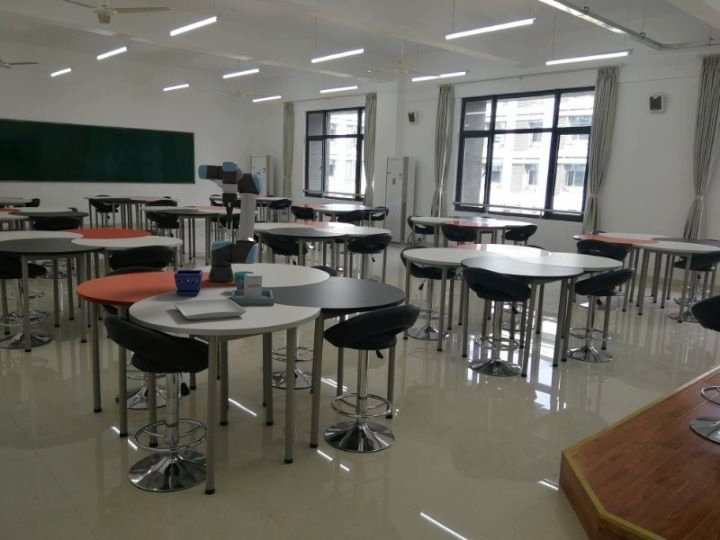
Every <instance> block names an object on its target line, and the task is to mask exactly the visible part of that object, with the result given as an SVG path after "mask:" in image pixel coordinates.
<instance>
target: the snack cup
mask: <svg viewBox="0 0 720 540" xmlns="http://www.w3.org/2000/svg"><path fill="white" fill-rule="evenodd" d="M233 274H234V281H233V282H234V283H235V285H236V286H235V287H236V290H244V274H255V273H254V272H253V271H248V270H247V271H244V270H242V271H240V270H239V271H235V272H233Z"/></svg>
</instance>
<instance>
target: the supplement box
mask: <svg viewBox="0 0 720 540" xmlns="http://www.w3.org/2000/svg"><path fill="white" fill-rule="evenodd" d="M262 285H263V275H262V274H260V273H259V272H258V273H254V274H244V298H262V290H263V289H262V288H263V286H262Z"/></svg>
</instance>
